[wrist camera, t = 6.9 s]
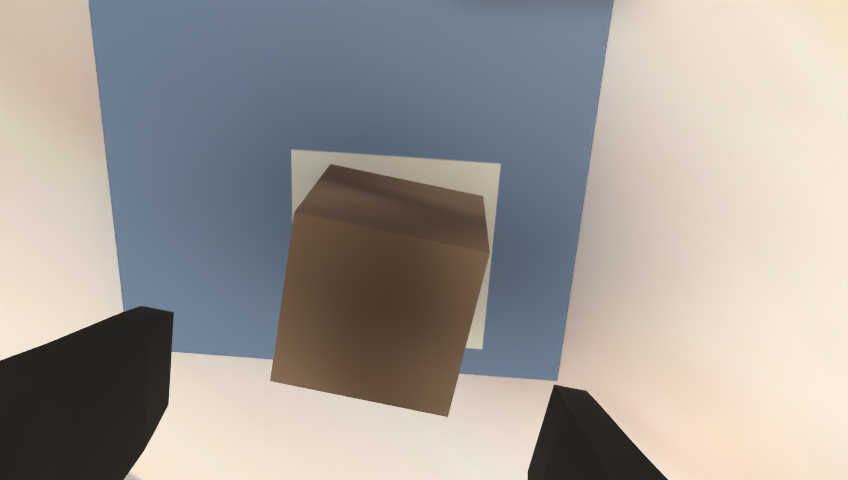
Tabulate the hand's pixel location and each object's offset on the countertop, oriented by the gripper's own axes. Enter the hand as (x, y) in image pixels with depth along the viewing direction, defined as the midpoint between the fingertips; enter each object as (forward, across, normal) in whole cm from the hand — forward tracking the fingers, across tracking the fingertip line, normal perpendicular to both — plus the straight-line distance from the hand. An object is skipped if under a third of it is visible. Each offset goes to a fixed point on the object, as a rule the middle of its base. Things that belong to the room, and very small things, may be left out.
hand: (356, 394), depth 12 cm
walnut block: (+8, 0, 0) cm, 8 cm away
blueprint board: (+9, +2, -4) cm, 10 cm away
